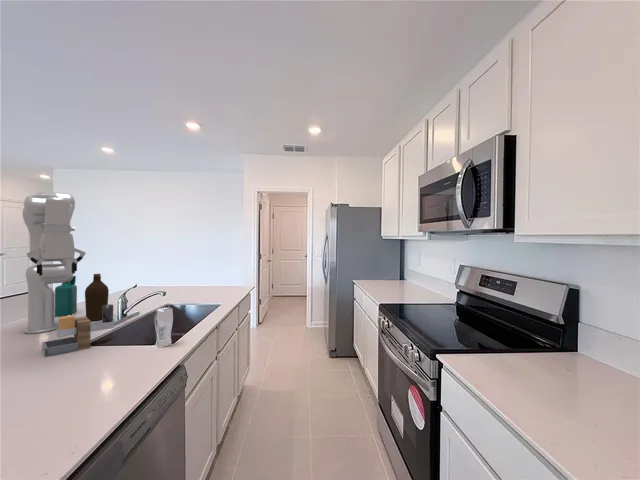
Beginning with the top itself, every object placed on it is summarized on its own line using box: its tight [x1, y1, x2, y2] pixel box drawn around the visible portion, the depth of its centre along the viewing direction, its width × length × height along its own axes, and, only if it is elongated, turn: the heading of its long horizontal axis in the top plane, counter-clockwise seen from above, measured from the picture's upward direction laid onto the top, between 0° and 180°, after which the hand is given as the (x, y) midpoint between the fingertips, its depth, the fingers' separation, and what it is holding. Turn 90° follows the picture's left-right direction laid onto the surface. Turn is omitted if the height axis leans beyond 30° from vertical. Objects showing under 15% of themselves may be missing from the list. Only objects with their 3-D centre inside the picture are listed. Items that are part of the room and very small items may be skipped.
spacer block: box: [58, 315, 76, 330], centre depth 125 cm, size 4×4×4 cm
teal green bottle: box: [54, 275, 78, 317], centre depth 178 cm, size 10×8×22 cm
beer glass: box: [154, 307, 174, 347], centre depth 131 cm, size 7×7×15 cm
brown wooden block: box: [73, 315, 92, 351], centre depth 128 cm, size 10×4×11 cm, turn 47°
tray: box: [41, 336, 79, 358], centre depth 123 cm, size 11×10×3 cm
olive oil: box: [84, 273, 110, 322], centre depth 169 cm, size 11×11×25 cm
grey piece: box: [55, 303, 115, 339], centre depth 129 cm, size 4×19×10 cm, turn 137°
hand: (57, 274), depth 119 cm, fingers open, 9 cm apart
